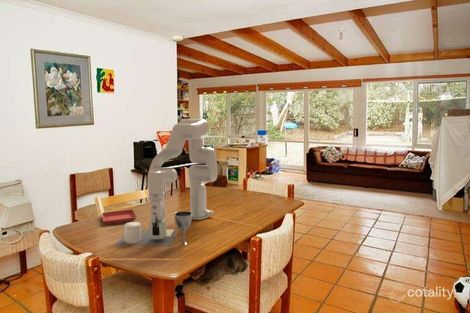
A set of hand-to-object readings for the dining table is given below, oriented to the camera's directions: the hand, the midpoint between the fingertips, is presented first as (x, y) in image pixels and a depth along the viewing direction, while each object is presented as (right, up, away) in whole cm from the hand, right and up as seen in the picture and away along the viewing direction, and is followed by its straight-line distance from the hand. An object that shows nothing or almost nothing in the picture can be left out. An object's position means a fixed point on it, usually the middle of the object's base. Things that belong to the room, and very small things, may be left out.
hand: (158, 231), depth 159 cm
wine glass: (+13, -5, -3) cm, 14 cm away
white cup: (-12, -4, 0) cm, 13 cm away
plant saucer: (-31, -1, +34) cm, 46 cm away
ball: (0, -3, 0) cm, 3 cm away
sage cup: (0, -2, 0) cm, 2 cm away
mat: (-6, -4, +4) cm, 9 cm away
